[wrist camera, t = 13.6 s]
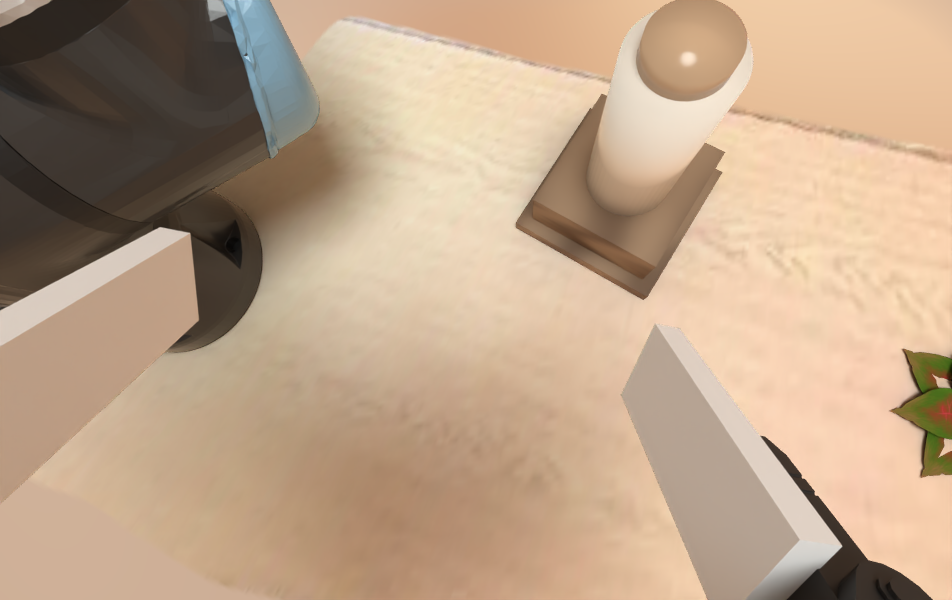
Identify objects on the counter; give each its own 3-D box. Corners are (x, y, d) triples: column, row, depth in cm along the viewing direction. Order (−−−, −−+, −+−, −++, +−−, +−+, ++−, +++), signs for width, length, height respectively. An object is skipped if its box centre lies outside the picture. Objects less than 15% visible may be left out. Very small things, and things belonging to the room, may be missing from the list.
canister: (571, 192, 33) (599, 67, 20) (610, 127, 33) (662, -37, 20) (646, 230, 31) (728, 122, 19) (685, 161, 32) (791, 11, 19)
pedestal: (516, 227, 38) (514, 204, 33) (588, 116, 39) (597, 78, 34) (643, 299, 35) (661, 286, 31) (716, 179, 37) (745, 147, 32)
